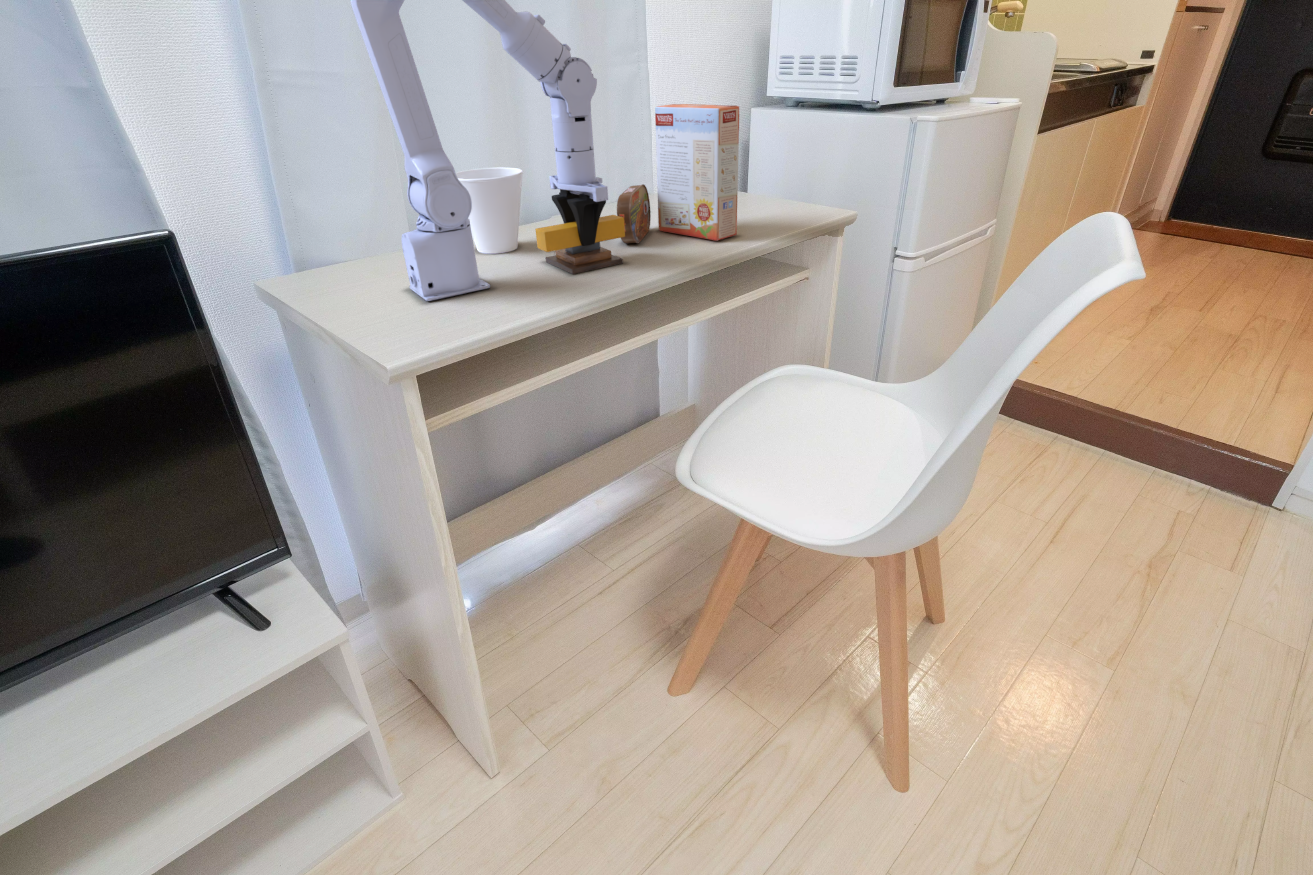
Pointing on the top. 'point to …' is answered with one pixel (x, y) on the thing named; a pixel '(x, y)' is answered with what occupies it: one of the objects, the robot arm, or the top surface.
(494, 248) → the cup
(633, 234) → the tin
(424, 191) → the robot arm
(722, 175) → the cracker box
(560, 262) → the brown stepped stand
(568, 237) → the bar
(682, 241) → the top surface
